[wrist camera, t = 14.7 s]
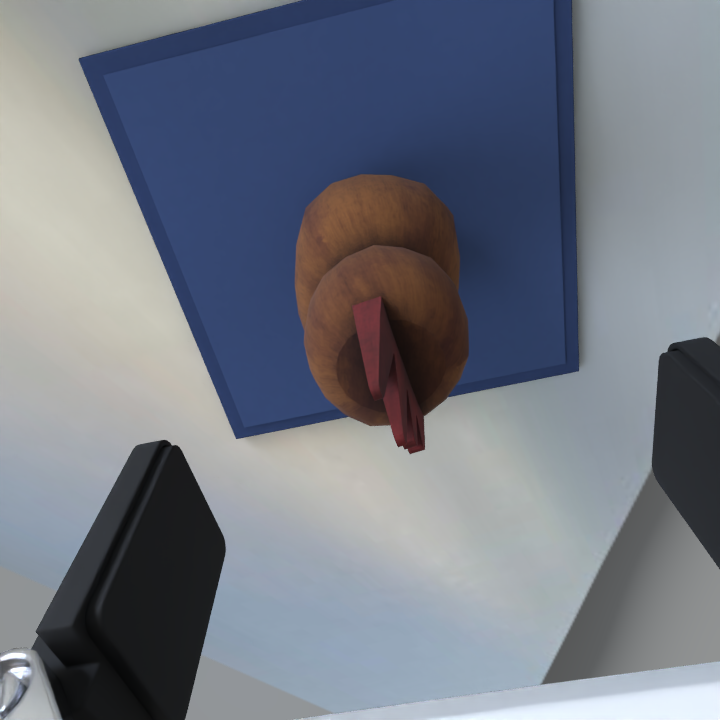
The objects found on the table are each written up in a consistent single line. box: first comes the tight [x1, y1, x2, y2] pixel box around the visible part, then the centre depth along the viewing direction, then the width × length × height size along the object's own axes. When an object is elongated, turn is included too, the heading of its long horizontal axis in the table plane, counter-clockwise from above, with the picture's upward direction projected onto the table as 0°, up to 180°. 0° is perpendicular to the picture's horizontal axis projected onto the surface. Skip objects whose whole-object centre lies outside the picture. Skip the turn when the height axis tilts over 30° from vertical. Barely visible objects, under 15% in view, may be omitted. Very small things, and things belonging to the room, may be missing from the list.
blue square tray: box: [79, 0, 579, 439], centre depth 24 cm, size 18×18×1 cm
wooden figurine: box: [295, 174, 469, 454], centre depth 17 cm, size 7×6×15 cm
